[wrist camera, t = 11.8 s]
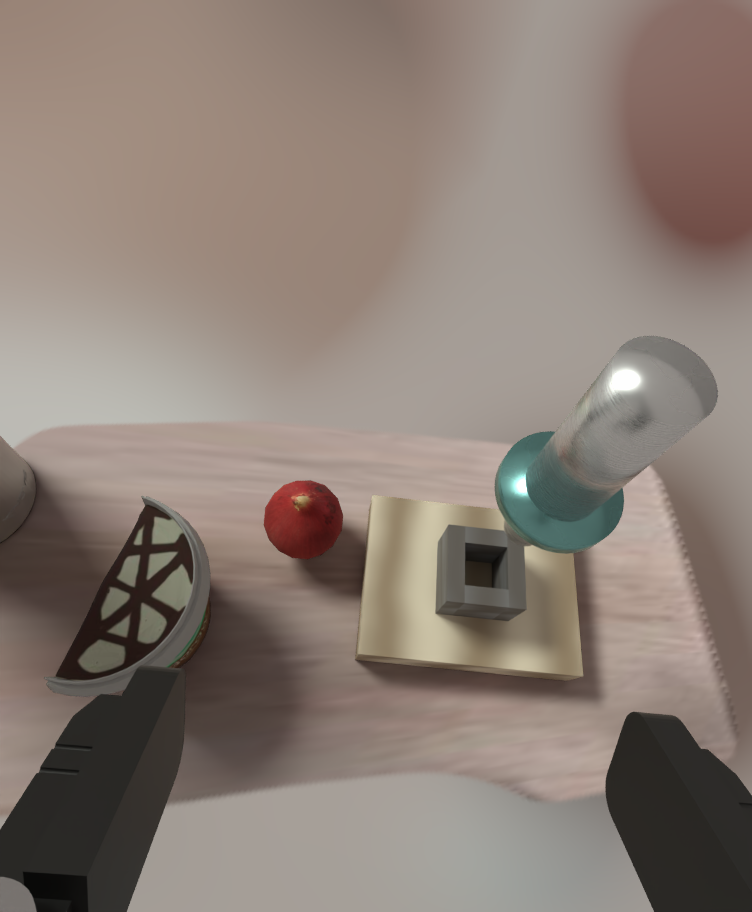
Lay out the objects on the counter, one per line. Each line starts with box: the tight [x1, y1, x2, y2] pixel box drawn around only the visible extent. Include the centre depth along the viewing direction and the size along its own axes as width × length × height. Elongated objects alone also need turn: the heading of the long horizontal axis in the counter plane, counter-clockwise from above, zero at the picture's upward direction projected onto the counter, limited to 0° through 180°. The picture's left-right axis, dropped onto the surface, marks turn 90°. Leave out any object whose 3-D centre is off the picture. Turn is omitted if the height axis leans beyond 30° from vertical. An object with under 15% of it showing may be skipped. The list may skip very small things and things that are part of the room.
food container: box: [44, 496, 210, 697], centre depth 38 cm, size 12×6×10 cm, turn 163°
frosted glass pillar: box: [495, 336, 718, 554], centre depth 26 cm, size 6×6×15 cm
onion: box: [264, 481, 343, 559], centre depth 43 cm, size 6×6×8 cm
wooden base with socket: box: [355, 495, 583, 681], centre depth 42 cm, size 16×12×7 cm
